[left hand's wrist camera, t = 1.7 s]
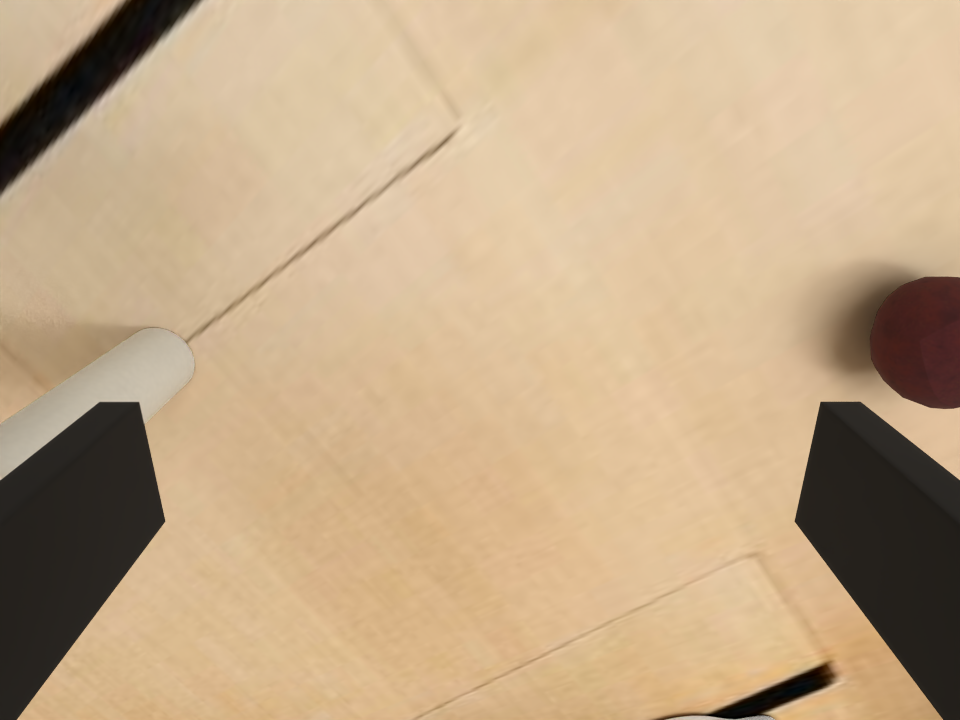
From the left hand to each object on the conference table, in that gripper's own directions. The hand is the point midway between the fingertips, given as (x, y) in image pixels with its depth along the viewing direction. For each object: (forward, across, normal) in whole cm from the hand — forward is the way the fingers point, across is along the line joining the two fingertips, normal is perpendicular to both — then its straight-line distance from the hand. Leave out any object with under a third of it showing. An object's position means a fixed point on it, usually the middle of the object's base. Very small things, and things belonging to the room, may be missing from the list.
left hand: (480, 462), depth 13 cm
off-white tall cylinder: (+28, -21, -9) cm, 36 cm away
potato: (+28, +27, -6) cm, 39 cm away
